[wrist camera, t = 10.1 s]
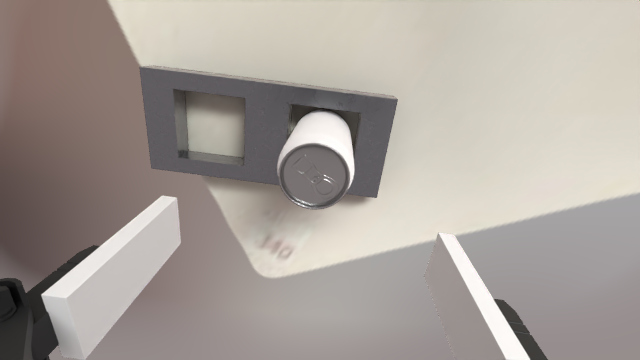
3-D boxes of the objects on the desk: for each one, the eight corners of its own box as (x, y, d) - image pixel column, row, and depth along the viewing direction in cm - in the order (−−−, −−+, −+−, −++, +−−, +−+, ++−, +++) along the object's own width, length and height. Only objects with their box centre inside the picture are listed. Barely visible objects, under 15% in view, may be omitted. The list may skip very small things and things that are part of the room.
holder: (153, 65, 32) (139, 66, 30) (393, 96, 32) (397, 99, 30) (163, 161, 37) (151, 168, 34) (374, 188, 36) (376, 197, 34)
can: (321, 174, 36) (312, 228, 25) (282, 135, 35) (255, 175, 24) (362, 139, 34) (373, 181, 23) (323, 96, 33) (315, 119, 22)
